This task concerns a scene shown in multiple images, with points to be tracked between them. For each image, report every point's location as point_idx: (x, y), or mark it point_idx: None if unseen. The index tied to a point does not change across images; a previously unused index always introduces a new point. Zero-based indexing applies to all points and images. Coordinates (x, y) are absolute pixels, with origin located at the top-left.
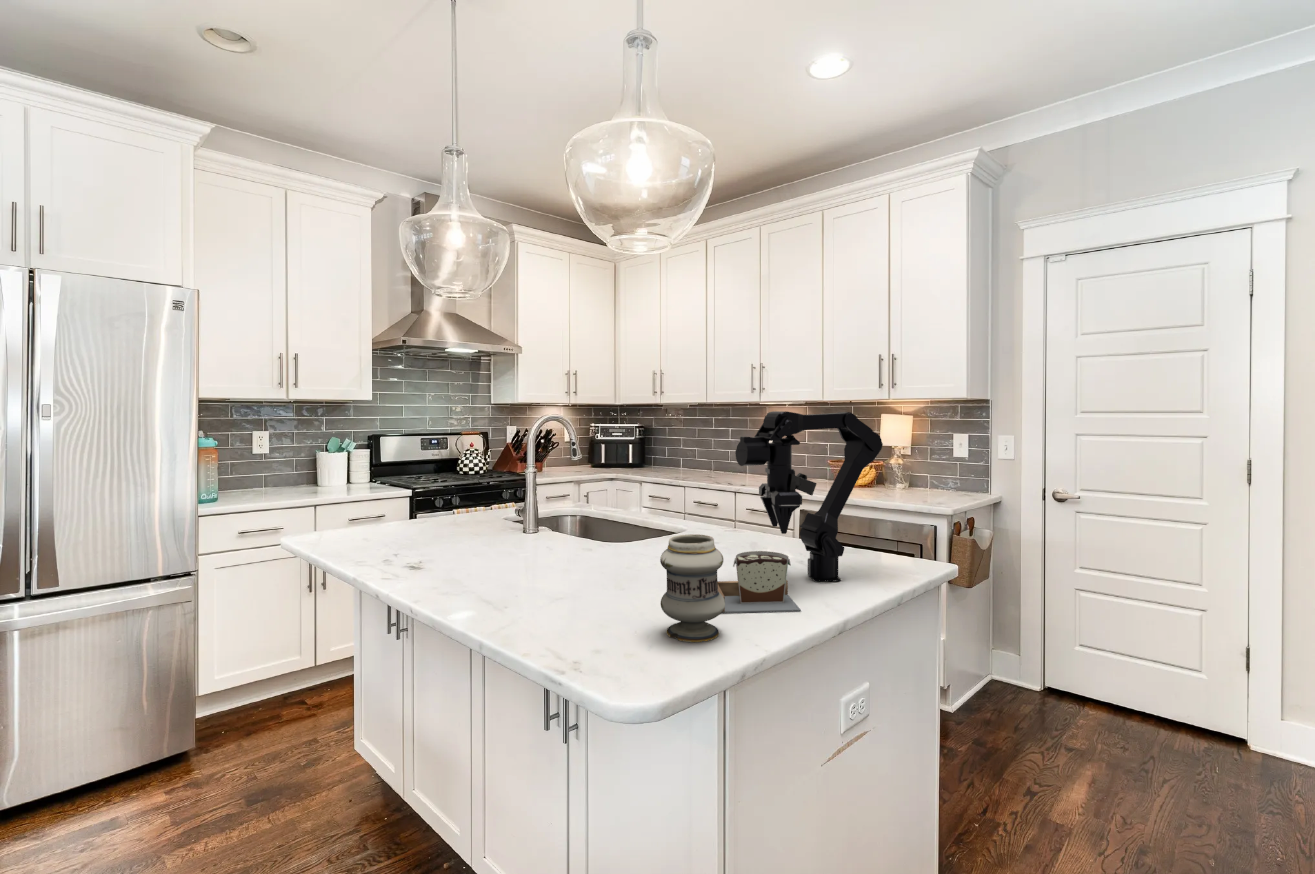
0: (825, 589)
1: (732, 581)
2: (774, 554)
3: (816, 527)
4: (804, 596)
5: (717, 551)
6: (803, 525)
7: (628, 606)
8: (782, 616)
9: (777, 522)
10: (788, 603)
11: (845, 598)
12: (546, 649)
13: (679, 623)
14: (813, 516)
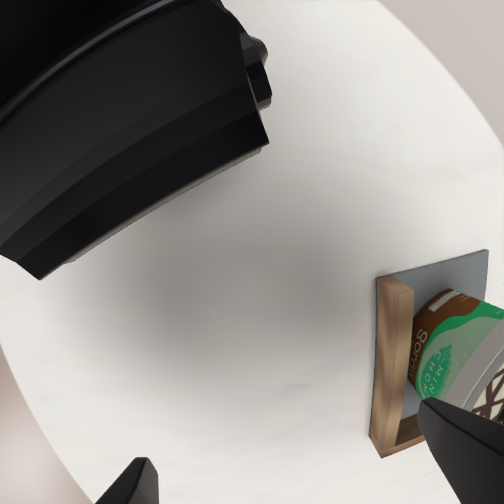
0: (308, 138)
1: (390, 426)
2: (487, 375)
3: (230, 118)
4: (388, 224)
5: None
6: (51, 252)
7: (392, 497)
8: (497, 288)
9: (143, 476)
10: (455, 276)
11: (399, 103)
12: None
13: (500, 420)
14: (21, 136)
